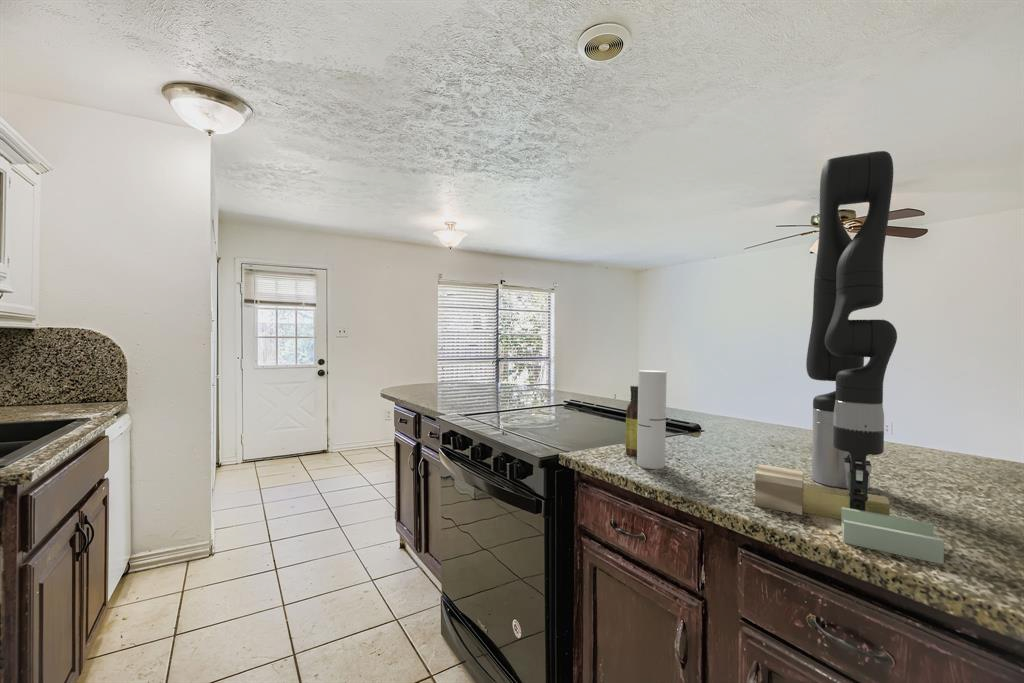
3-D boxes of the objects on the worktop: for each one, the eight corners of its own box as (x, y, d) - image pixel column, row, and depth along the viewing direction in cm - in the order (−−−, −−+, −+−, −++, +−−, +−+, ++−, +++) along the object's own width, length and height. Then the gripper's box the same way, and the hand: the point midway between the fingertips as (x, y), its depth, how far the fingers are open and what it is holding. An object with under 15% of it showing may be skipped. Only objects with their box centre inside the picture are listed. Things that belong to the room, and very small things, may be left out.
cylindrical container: (666, 469, 113) (668, 372, 113) (638, 467, 115) (639, 371, 115) (663, 462, 120) (664, 370, 120) (635, 460, 122) (637, 369, 122)
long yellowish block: (774, 499, 93) (775, 478, 93) (886, 520, 83) (886, 496, 82) (772, 506, 89) (772, 483, 89) (889, 529, 79) (889, 504, 79)
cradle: (841, 526, 80) (841, 507, 80) (932, 544, 73) (932, 523, 73) (843, 542, 73) (844, 521, 73) (943, 564, 66) (944, 541, 66)
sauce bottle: (643, 458, 125) (645, 387, 125) (622, 454, 128) (623, 386, 128) (650, 453, 130) (651, 385, 130) (629, 450, 133) (630, 384, 133)
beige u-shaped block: (758, 494, 96) (759, 464, 96) (802, 502, 91) (803, 470, 91) (754, 505, 89) (755, 473, 89) (801, 514, 85) (802, 480, 85)
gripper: (888, 434, 75) (886, 534, 75) (880, 422, 87) (878, 509, 87) (833, 429, 80) (832, 523, 80) (832, 418, 91) (831, 500, 91)
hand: (856, 515), depth 83 cm, fingers closed on long yellowish block, 4 cm apart
